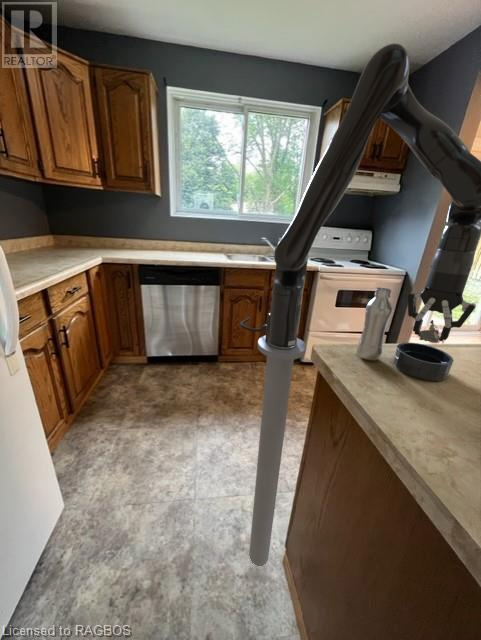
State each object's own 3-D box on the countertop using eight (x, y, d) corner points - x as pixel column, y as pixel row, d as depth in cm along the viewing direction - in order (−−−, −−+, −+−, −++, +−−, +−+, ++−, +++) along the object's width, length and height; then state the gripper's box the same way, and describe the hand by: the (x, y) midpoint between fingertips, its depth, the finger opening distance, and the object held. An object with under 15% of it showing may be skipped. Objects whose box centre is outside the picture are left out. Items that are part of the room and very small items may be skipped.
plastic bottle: (368, 351, 81) (384, 286, 74) (385, 362, 75) (404, 292, 68) (350, 353, 79) (364, 286, 72) (365, 364, 73) (382, 292, 66)
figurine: (412, 337, 71) (418, 316, 69) (427, 337, 72) (433, 316, 70) (428, 346, 66) (435, 323, 64) (444, 346, 67) (451, 323, 65)
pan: (386, 368, 72) (390, 351, 70) (400, 354, 80) (404, 338, 79) (442, 388, 64) (448, 370, 62) (451, 370, 72) (457, 353, 71)
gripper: (490, 273, 61) (465, 342, 67) (418, 264, 70) (402, 325, 76) (488, 277, 56) (461, 351, 62) (410, 267, 65) (393, 332, 71)
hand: (428, 336), depth 69 cm, fingers closed on figurine, 4 cm apart
